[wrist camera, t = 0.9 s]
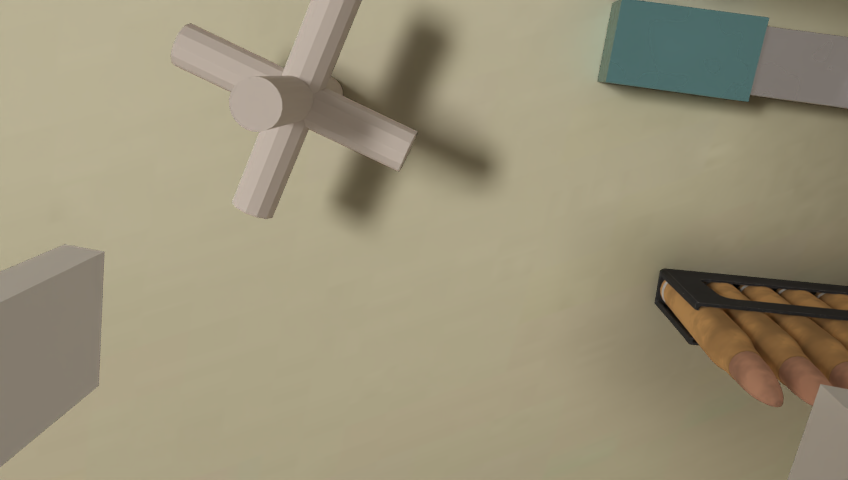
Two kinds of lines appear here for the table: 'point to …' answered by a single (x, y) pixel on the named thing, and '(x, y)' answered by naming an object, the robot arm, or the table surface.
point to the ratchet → (721, 55)
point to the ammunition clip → (762, 329)
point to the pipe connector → (291, 101)
